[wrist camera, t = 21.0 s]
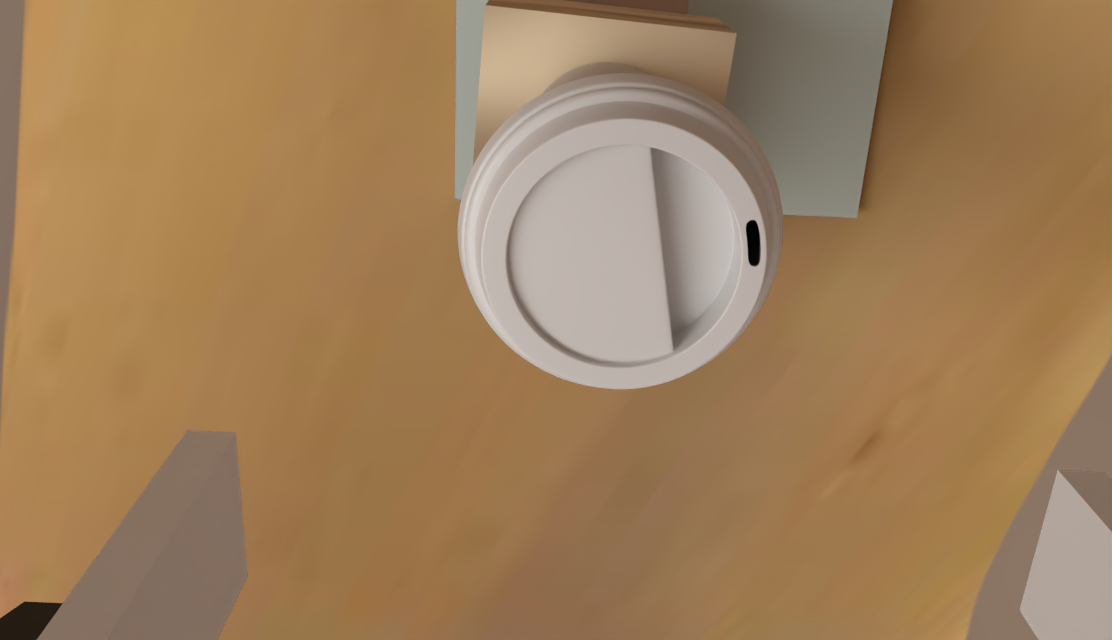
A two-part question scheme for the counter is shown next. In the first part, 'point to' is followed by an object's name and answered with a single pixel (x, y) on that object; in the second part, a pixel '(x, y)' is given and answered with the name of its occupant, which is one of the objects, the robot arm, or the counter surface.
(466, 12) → the board
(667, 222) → the coffee cup
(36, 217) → the counter surface
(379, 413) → the counter surface
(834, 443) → the counter surface
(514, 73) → the oak brick
